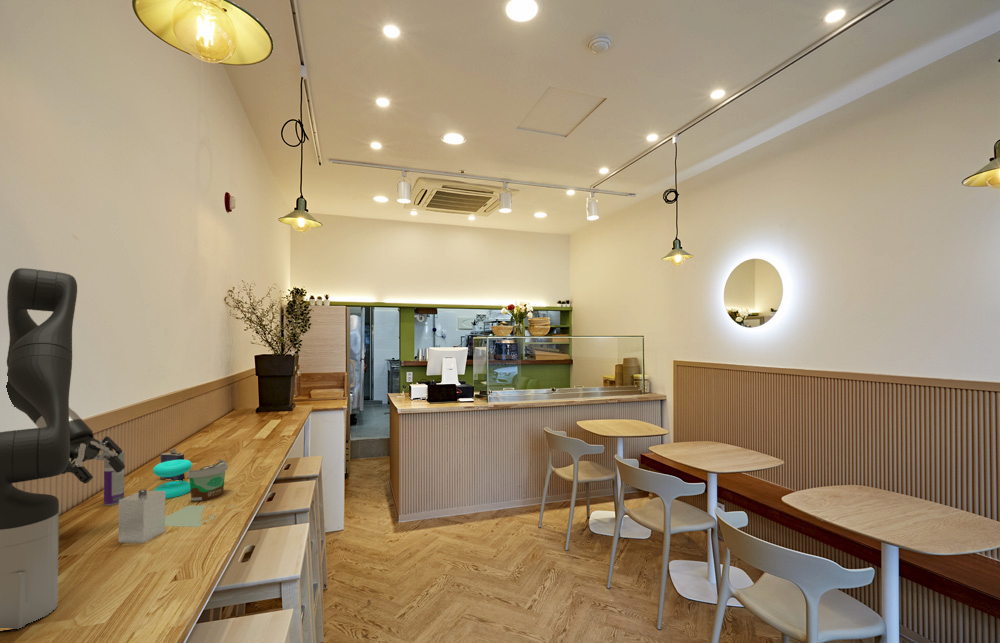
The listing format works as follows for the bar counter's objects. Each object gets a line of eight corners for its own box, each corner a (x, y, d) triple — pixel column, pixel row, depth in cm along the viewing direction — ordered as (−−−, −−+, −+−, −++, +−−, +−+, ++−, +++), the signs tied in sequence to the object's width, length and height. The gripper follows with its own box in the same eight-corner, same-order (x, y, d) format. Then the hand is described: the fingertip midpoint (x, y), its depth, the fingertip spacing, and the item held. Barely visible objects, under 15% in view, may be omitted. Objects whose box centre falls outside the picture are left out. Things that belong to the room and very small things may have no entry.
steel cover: (143, 544, 109) (143, 495, 110) (118, 543, 110) (118, 494, 110) (165, 532, 116) (165, 486, 116) (141, 532, 116) (141, 486, 116)
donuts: (199, 459, 148) (172, 468, 138) (199, 490, 147) (172, 501, 138) (173, 457, 150) (144, 466, 140) (173, 488, 149) (144, 499, 139)
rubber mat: (198, 528, 118) (198, 526, 118) (147, 527, 119) (147, 525, 119) (234, 507, 132) (234, 506, 132) (188, 506, 133) (188, 505, 133)
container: (100, 504, 136) (101, 453, 136) (119, 499, 140) (119, 450, 141) (108, 506, 134) (108, 455, 134) (127, 501, 138) (127, 451, 138)
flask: (158, 480, 158) (158, 448, 159) (166, 477, 161) (166, 446, 162) (179, 481, 156) (180, 450, 157) (187, 479, 159) (187, 448, 159)
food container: (204, 506, 133) (205, 471, 134) (187, 504, 135) (187, 470, 135) (237, 491, 146) (237, 460, 146) (220, 490, 147) (220, 459, 147)
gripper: (43, 424, 108) (87, 473, 107) (101, 413, 122) (140, 456, 121) (23, 446, 108) (66, 496, 107) (82, 433, 122) (122, 476, 121)
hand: (106, 475), depth 114 cm, fingers open, 8 cm apart
